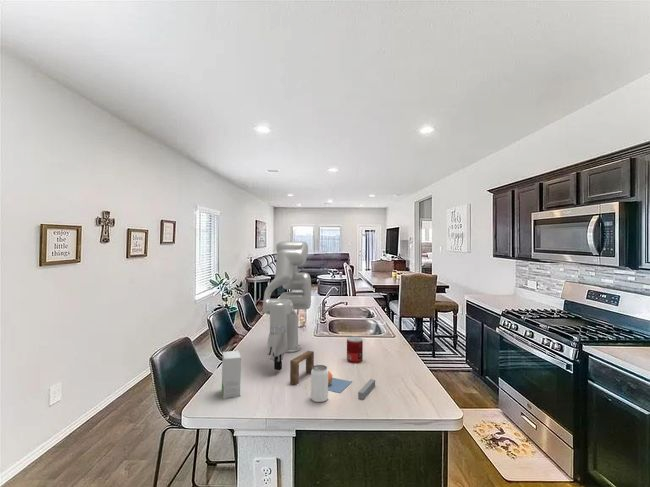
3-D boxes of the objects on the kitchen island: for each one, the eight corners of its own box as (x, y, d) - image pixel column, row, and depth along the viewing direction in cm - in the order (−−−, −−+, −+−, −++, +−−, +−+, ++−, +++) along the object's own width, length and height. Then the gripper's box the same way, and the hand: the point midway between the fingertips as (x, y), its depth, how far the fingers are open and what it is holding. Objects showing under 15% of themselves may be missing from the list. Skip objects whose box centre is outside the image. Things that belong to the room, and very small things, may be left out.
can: (310, 395, 133) (310, 364, 133) (327, 394, 134) (327, 364, 134) (311, 403, 127) (311, 370, 127) (328, 402, 127) (328, 370, 127)
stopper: (358, 398, 130) (358, 392, 130) (370, 384, 143) (370, 378, 143) (363, 399, 130) (363, 393, 130) (375, 385, 142) (375, 379, 142)
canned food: (361, 363, 168) (361, 341, 167) (345, 362, 169) (345, 340, 169) (363, 358, 175) (363, 337, 175) (347, 357, 177) (347, 336, 177)
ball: (324, 372, 139) (328, 386, 138) (332, 367, 144) (336, 381, 143) (313, 373, 142) (317, 388, 141) (321, 369, 147) (325, 383, 146)
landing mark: (313, 387, 141) (313, 386, 141) (326, 376, 151) (326, 376, 151) (340, 393, 135) (340, 392, 135) (351, 382, 146) (351, 381, 146)
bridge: (290, 383, 144) (290, 360, 144) (308, 371, 157) (308, 350, 157) (296, 384, 143) (296, 361, 143) (313, 372, 156) (313, 351, 156)
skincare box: (221, 390, 137) (221, 351, 137) (238, 387, 140) (238, 349, 140) (223, 399, 130) (223, 358, 129) (241, 396, 132) (241, 356, 132)
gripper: (280, 324, 164) (280, 362, 164) (261, 332, 151) (261, 373, 151) (293, 326, 161) (293, 365, 161) (275, 334, 147) (275, 376, 148)
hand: (278, 369), depth 156 cm, fingers closed
